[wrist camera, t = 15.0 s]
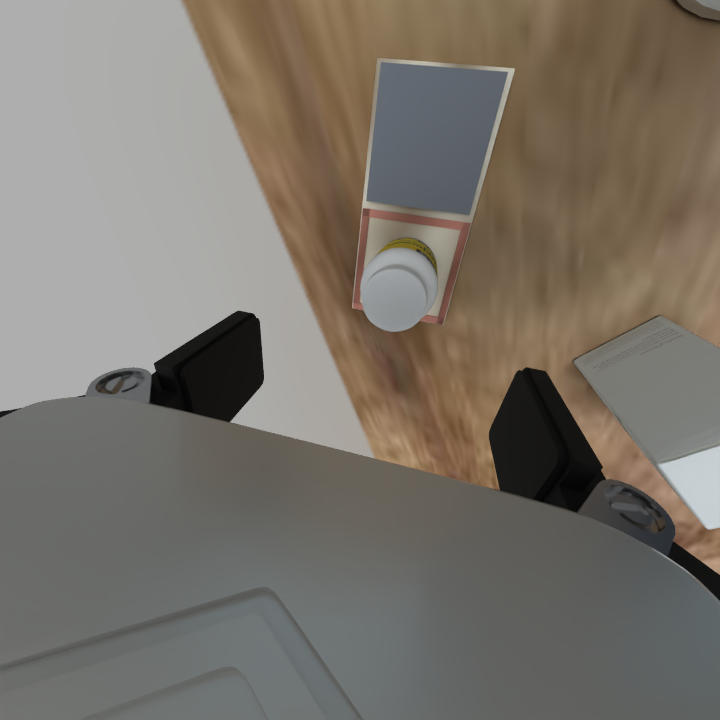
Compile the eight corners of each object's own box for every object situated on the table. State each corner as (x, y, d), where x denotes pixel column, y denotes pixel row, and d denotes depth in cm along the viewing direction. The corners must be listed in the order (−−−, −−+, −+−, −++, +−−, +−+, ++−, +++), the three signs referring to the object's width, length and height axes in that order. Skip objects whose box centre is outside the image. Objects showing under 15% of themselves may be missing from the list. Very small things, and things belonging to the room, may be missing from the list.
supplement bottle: (449, 253, 25) (458, 284, 17) (417, 307, 28) (411, 357, 20) (392, 223, 25) (372, 239, 16) (365, 281, 28) (337, 320, 19)
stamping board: (512, 72, 20) (515, 67, 19) (443, 321, 29) (443, 325, 28) (379, 62, 21) (376, 56, 20) (353, 305, 30) (351, 308, 29)
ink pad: (504, 78, 19) (508, 71, 18) (467, 213, 23) (469, 215, 22) (383, 68, 20) (380, 62, 19) (368, 200, 24) (366, 200, 23)
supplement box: (569, 359, 28) (654, 463, 17) (661, 312, 25) (839, 405, 14) (607, 410, 30) (706, 533, 19) (698, 373, 26) (882, 497, 16)
